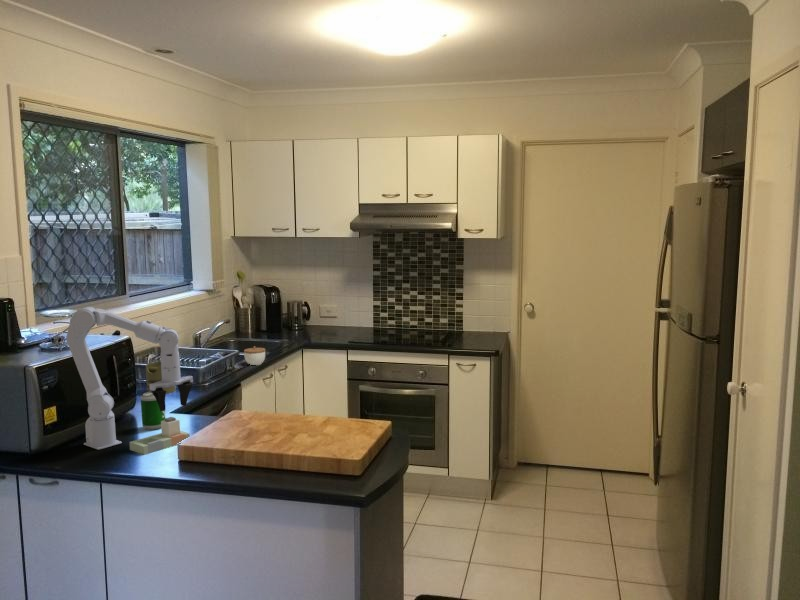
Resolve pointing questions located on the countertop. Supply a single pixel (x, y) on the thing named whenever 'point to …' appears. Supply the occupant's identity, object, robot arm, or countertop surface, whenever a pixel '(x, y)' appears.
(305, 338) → the countertop surface
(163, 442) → the socket block
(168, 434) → the plug
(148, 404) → the soda can
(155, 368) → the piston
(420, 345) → the countertop surface
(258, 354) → the lidded jar
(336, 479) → the countertop surface
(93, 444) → the robot arm
